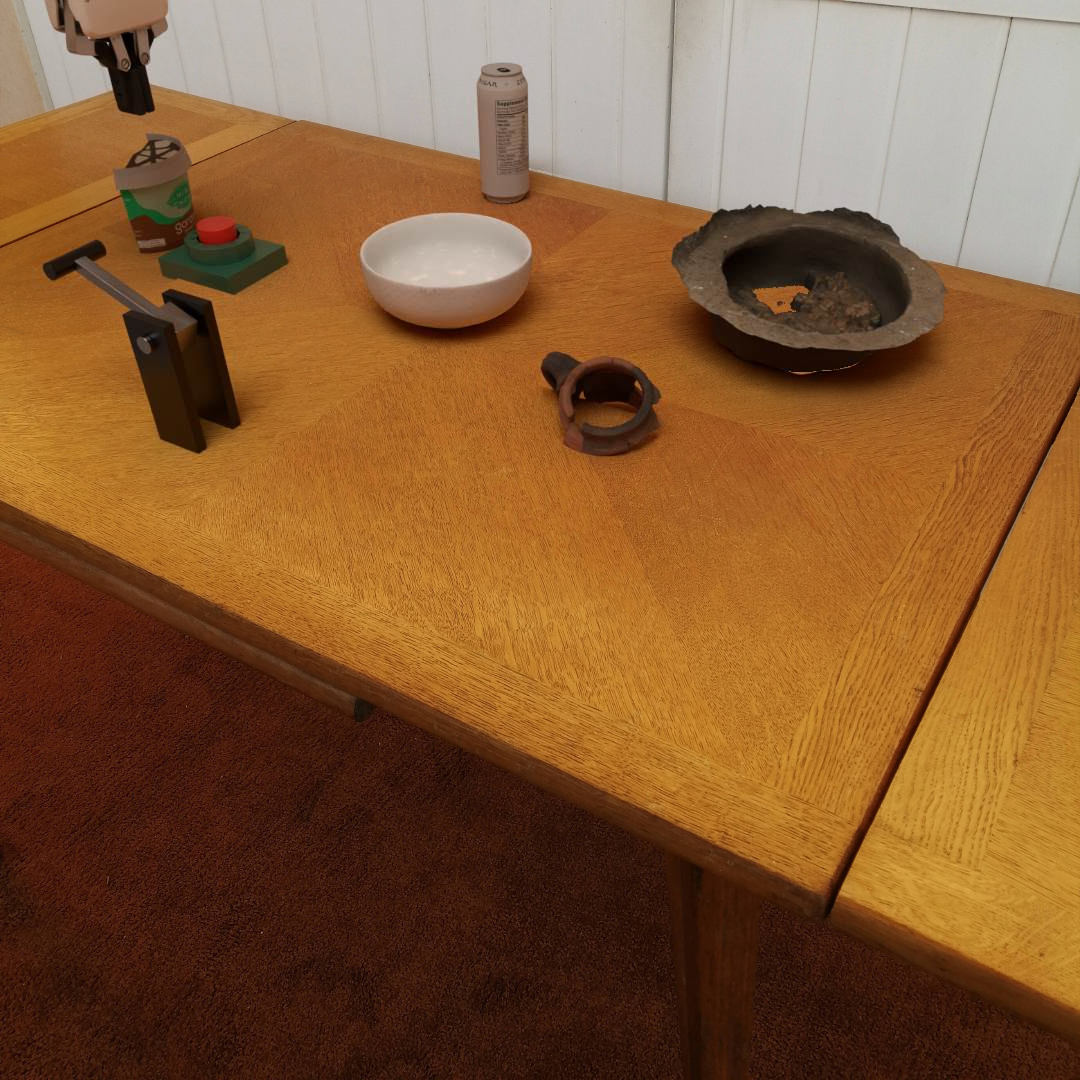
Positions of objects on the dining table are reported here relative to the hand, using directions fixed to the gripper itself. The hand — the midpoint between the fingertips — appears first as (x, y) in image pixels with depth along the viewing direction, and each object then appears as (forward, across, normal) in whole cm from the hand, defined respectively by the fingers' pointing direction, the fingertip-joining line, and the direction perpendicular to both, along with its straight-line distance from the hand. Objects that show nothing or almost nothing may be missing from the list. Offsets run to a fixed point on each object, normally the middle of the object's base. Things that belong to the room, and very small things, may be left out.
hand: (137, 111), depth 94 cm
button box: (+18, -6, 0) cm, 19 cm away
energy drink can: (+18, -39, +17) cm, 46 cm away
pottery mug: (+18, +2, +50) cm, 54 cm away
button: (+15, -6, 0) cm, 16 cm away
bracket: (+19, +20, +22) cm, 35 cm away
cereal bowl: (+18, -10, +28) cm, 35 cm away
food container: (+19, -11, -10) cm, 24 cm away
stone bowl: (+18, -22, +61) cm, 67 cm away
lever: (+7, +20, +17) cm, 27 cm away
